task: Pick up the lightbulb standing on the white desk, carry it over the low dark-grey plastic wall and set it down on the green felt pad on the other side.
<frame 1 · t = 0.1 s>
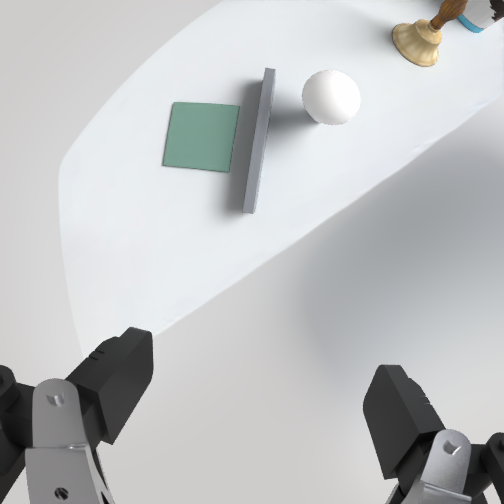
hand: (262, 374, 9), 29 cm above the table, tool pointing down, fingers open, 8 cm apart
lightbulb: (319, 115, 34), on the table
pad: (200, 135, 35), on the table
hand bell: (415, 45, 29), on the table
cup: (467, 18, 26), on the table
wall: (261, 142, 35), on the table
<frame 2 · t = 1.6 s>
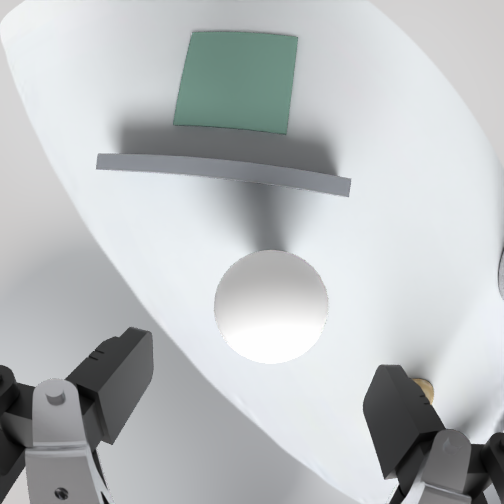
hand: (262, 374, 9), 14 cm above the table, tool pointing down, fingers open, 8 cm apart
lightbulb: (273, 266, 23), on the table
pad: (236, 77, 20), on the table
wall: (222, 171, 22), on the table
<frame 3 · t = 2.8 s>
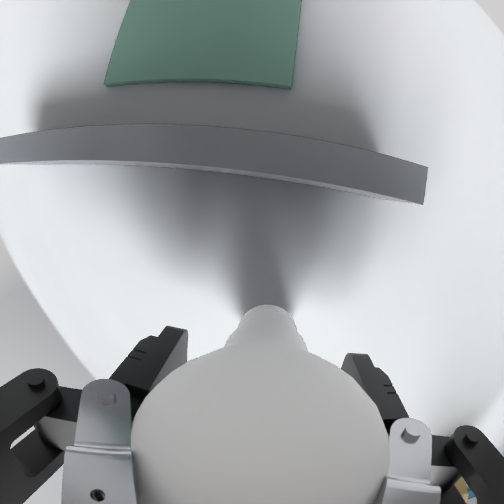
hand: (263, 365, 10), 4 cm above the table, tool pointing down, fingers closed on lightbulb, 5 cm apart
lightbulb: (267, 320, 13), on the table, touching gripper
pad: (207, 7, 10), on the table
cup: (456, 501, 18), on the table
wall: (177, 154, 12), on the table
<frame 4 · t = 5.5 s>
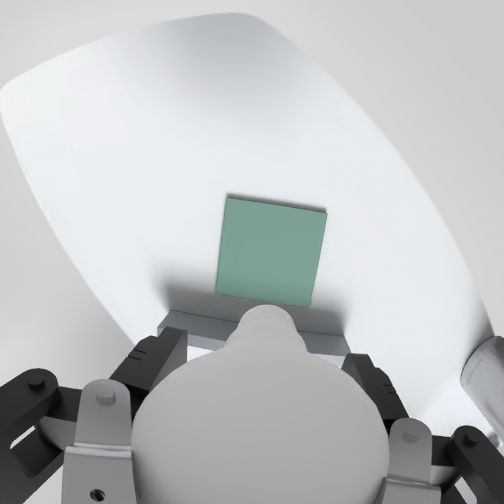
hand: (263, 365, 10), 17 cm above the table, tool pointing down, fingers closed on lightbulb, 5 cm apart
lightbulb: (267, 320, 13), point 13 cm above the table, touching gripper
pad: (269, 253, 26), on the table
wall: (257, 330, 28), on the table
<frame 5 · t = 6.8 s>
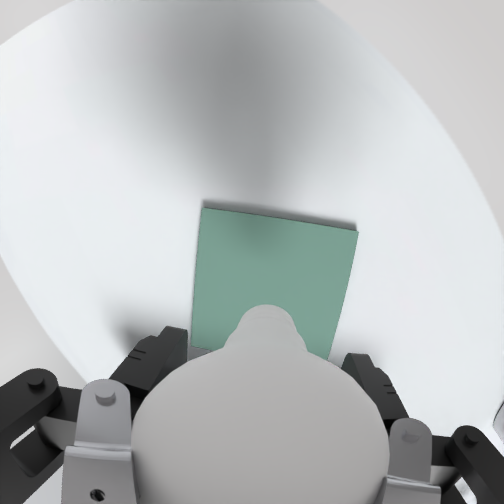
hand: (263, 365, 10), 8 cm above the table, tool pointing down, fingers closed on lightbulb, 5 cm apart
lightbulb: (267, 320, 13), point 4 cm above the table, touching gripper
pad: (269, 292, 17), on the table
when the fingers open (5 cm above the table, at t = 7.8 s): lightbulb moves 1 cm, resting on pad.
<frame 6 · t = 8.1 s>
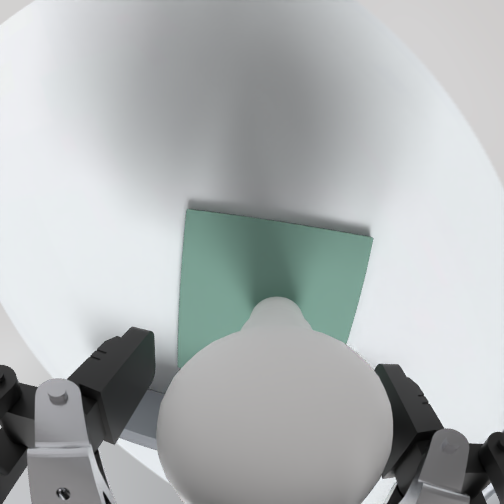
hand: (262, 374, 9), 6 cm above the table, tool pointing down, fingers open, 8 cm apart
lightbulb: (276, 312, 14), resting on pad
pad: (267, 309, 15), on the table
wall: (247, 416, 16), on the table
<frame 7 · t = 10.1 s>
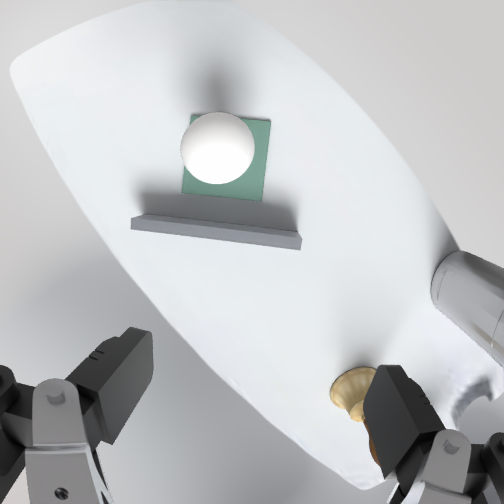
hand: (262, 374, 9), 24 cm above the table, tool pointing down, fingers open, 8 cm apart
lightbulb: (229, 157, 30), resting on pad
pad: (225, 156, 31), on the table
hand bell: (356, 387, 37), on the table
wall: (218, 227, 33), on the table
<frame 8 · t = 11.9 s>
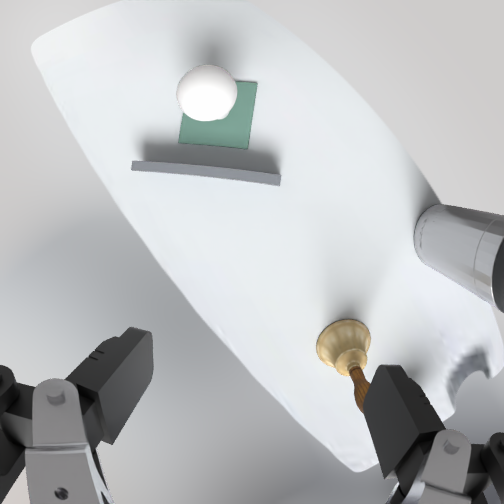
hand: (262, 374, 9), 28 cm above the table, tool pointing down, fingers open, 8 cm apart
lightbulb: (221, 112, 33), resting on pad
pad: (217, 112, 33), on the table
hand bell: (343, 343, 39), on the table
wall: (208, 172, 35), on the table
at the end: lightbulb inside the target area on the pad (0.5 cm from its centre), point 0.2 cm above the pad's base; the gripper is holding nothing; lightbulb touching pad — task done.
